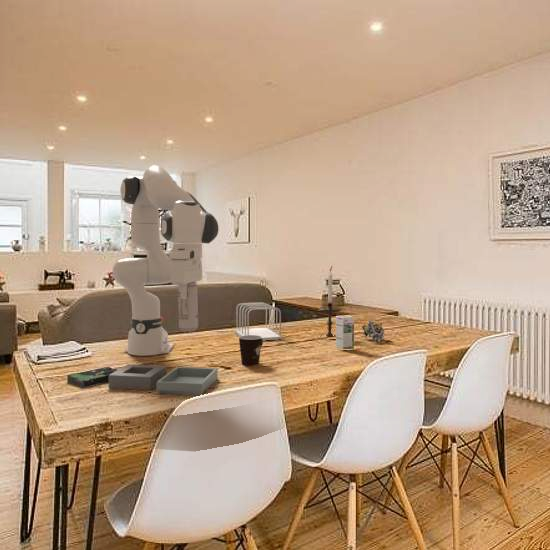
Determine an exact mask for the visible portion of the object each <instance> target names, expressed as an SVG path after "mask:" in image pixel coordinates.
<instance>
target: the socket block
mask: <svg viewBox="0 0 550 550" xmlns="http://www.w3.org/2000/svg"><path fill="white" fill-rule="evenodd" d="M167 370H168V369H167V365H150V364H130V363H129V364H126V365H124V366H122V367H121V368H119V369H118V370H117V371H115V372H113V373H111V374H110V375H109V382H108V389H109V388H110V389H123V390H124V389H127V390H130V389H131V390H145V389H151V390H152V389H153V387H154V388H155V387H156V382H157V381H158V380H160V379H161V378H162V377H164V376H165V375H167V374H168V373H167Z"/></svg>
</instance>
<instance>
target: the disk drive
mask: <svg viewBox="0 0 550 550" xmlns="http://www.w3.org/2000/svg"><path fill="white" fill-rule="evenodd" d="M117 370H119V369H117V368H112V367H110V366H105V367H101V368H95V369H94V368H93V369H91V370H86V371H81V372H76V373H72V374H68V375H67V383H70V384H73V385H76V386H79V387H80V386H81V388H83V387H84V388H87V387H92V385H93V386H96V384H97V385H100V384H104V383H109V375H110V374H111V373H113V372H115V371H117Z"/></svg>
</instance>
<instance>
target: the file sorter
mask: <svg viewBox="0 0 550 550" xmlns="http://www.w3.org/2000/svg"><path fill="white" fill-rule="evenodd" d="M239 306H240V307H239ZM238 308H239V309H238ZM245 308H246V309H245ZM238 310H239V315H238ZM256 310H265V327H252V328H250V322H249V321H250V320H249V319H250V317H249V316H250V312H251V311H256ZM268 310H269V312H268ZM247 311H248V312H247ZM271 312H272V316H271ZM278 312H279V313H278ZM275 313H276V314H275ZM278 314H279V328H278ZM268 315H269V316H268ZM235 316H236V317H235V318H236V319H235V320H236V329H234V333H235V332H236V333H237V334H238V335H237V334H236V333H235V334H236V335H237V336H238V337H240V336H245V335H257V336H261V337H262V340H263V342H267V341H266V340H276V341H278V340H277V339H282V340H283V336H282V335H281V333H282V332H281V331H282V326H281V325H282V311H281V310H280V308H278V307H275V306H272V305H270V304H268V303H265V302H261V301H259V302H242V303H238V304H237V305H236V315H235ZM275 316H276V317H275ZM268 317H269V318H268ZM271 317H272V328H271ZM238 318H239V321H238ZM268 320H269V322H268ZM275 320H276V321H275ZM238 322H239V323H238ZM274 325H275V326H274ZM238 326H239V327H238ZM274 327H275V329H274ZM278 329H279V330H278ZM278 331H279V332H278Z"/></svg>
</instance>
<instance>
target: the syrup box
mask: <svg viewBox="0 0 550 550" xmlns="http://www.w3.org/2000/svg"><path fill="white" fill-rule="evenodd" d="M335 335H336V340H335V348H336V347H337V348H340V349H355V317H354V316H353V315H350V314H345V315H336V316H335Z"/></svg>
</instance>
